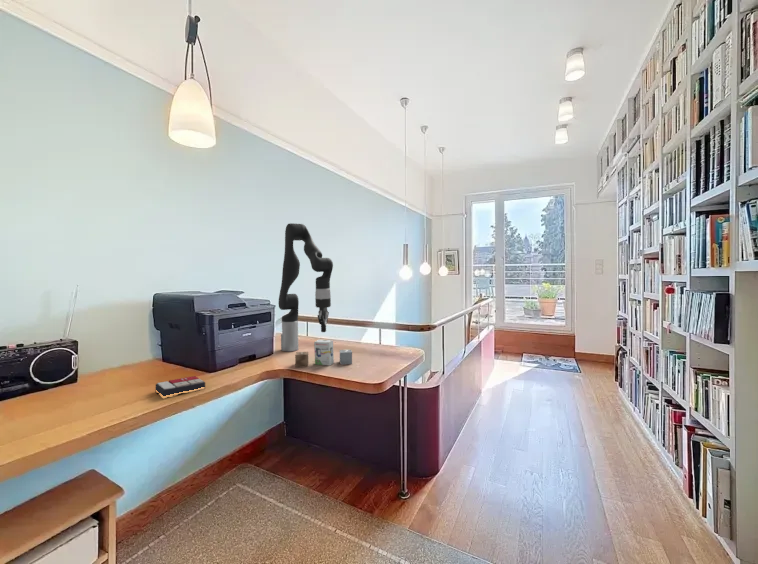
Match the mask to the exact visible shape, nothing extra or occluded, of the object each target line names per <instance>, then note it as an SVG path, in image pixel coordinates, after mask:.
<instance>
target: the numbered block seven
mask: <svg viewBox="0 0 758 564" xmlns="http://www.w3.org/2000/svg"><path fill="white" fill-rule="evenodd" d="M339 363H340V364H341V365H353V351H352V349H339ZM340 364H339V365H340Z"/></svg>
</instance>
